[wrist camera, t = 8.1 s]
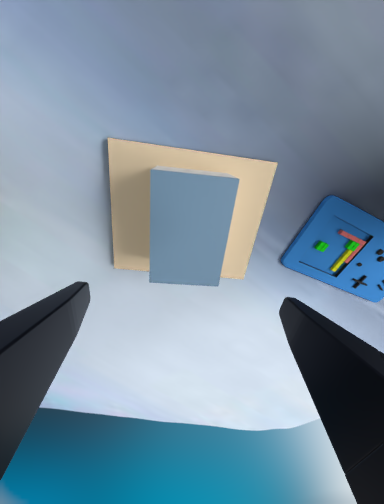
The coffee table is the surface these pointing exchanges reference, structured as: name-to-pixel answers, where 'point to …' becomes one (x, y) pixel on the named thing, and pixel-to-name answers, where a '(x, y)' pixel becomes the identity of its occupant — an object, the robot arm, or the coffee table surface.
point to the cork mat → (138, 199)
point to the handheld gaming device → (341, 249)
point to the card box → (189, 224)
